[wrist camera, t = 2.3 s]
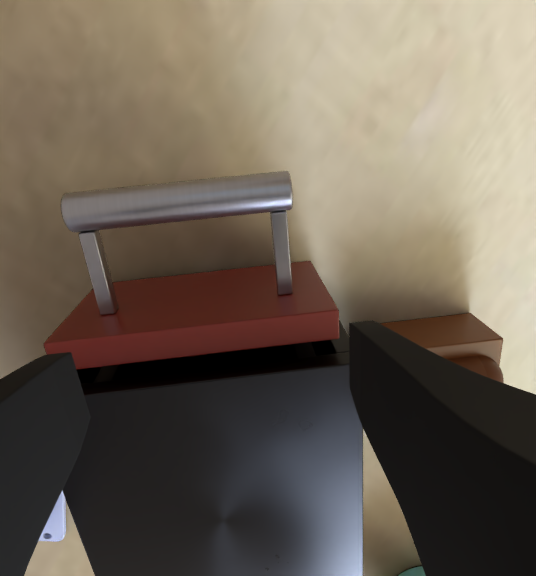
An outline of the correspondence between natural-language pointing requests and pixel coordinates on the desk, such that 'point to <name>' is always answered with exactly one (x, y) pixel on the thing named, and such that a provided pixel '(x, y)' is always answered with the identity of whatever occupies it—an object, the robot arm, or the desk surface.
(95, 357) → the drawer
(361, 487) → the black rectangular box
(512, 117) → the desk surface
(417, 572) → the cupcake
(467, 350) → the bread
